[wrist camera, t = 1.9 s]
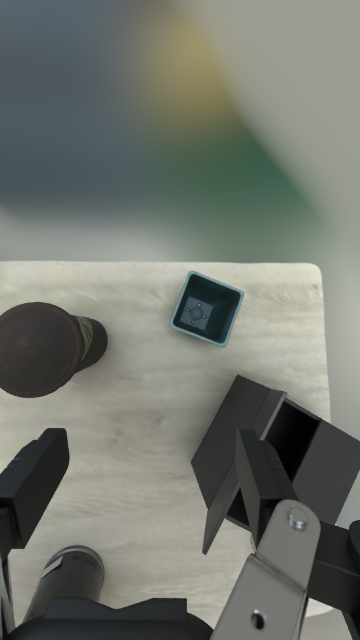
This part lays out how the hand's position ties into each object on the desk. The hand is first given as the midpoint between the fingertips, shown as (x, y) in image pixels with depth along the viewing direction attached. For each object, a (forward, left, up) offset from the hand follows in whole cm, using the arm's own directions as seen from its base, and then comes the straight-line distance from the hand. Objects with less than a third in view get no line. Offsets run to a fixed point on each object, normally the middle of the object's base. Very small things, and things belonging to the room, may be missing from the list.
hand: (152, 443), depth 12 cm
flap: (-2, -14, -16) cm, 21 cm away
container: (-2, +11, -33) cm, 34 cm away
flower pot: (+12, -3, -33) cm, 35 cm away
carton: (-2, -23, -32) cm, 40 cm away
